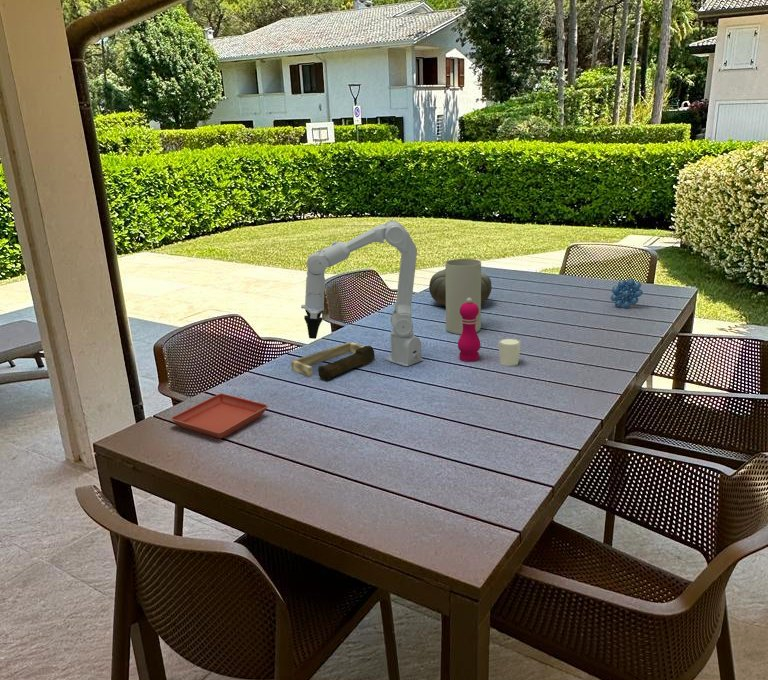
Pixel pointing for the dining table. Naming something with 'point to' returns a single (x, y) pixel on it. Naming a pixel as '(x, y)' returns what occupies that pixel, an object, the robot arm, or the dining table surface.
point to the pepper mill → (469, 332)
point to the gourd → (439, 287)
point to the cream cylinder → (509, 351)
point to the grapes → (626, 293)
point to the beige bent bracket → (322, 357)
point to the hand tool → (347, 363)
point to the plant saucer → (220, 415)
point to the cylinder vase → (462, 291)
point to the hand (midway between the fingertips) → (312, 334)
